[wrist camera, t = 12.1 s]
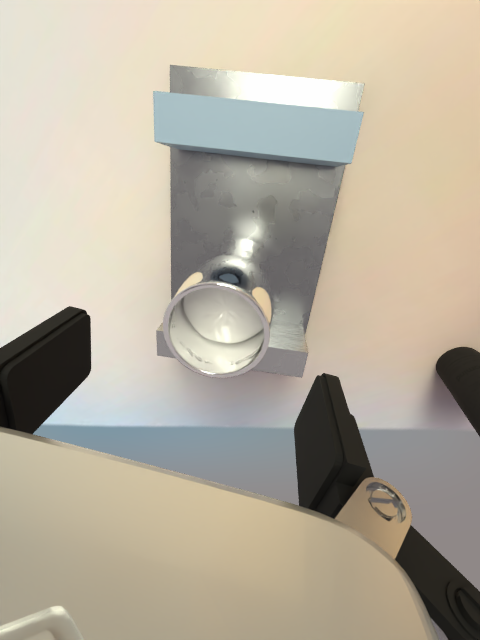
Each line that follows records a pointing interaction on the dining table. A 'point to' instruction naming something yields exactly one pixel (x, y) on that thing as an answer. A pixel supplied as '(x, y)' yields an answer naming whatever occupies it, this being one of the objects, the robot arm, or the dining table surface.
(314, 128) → the bar
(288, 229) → the vise base
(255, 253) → the beer glass
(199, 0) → the dining table surface
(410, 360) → the dining table surface
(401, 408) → the dining table surface
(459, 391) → the drinking cup
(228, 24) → the dining table surface
